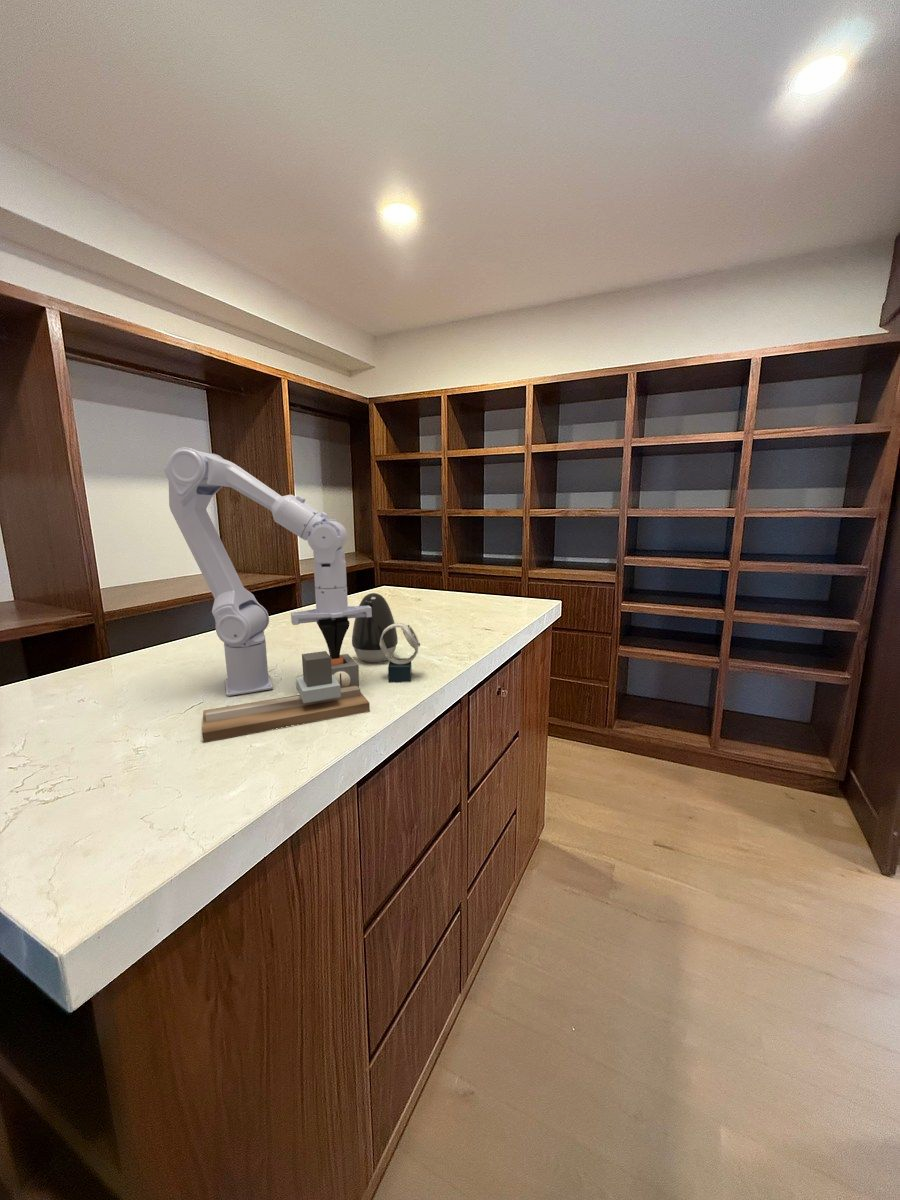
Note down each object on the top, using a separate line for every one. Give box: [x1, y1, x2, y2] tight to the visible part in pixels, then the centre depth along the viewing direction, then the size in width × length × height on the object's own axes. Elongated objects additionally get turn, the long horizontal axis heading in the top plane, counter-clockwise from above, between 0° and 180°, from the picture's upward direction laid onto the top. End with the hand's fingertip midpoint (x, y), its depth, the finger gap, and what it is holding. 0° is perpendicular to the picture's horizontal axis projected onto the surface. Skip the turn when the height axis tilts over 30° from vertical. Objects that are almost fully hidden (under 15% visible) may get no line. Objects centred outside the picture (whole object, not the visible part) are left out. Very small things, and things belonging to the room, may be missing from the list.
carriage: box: [295, 650, 341, 703], centre depth 80 cm, size 7×6×6 cm
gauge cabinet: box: [331, 653, 360, 688], centre depth 91 cm, size 8×7×5 cm
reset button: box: [331, 654, 343, 665], centre depth 91 cm, size 3×3×2 cm
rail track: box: [201, 686, 371, 744], centre depth 79 cm, size 9×25×3 cm, turn 116°
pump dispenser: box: [351, 592, 399, 663], centre depth 108 cm, size 10×10×15 cm
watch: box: [380, 622, 421, 683], centre depth 96 cm, size 6×8×11 cm
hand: (334, 657), depth 91 cm, fingers closed, pressing on reset button
